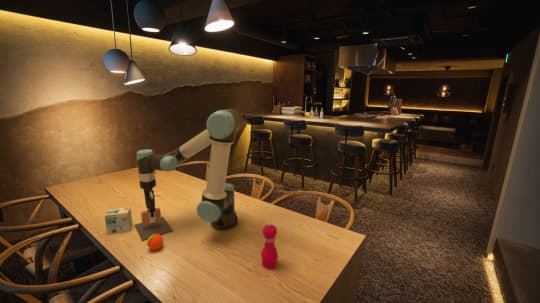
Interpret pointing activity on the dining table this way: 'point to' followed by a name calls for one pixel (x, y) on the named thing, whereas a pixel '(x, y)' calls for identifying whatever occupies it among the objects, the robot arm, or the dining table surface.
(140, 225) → the mat
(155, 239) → the clementine
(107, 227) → the light bulb box
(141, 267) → the dining table surface
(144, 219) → the block
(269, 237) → the pink bowling pin
